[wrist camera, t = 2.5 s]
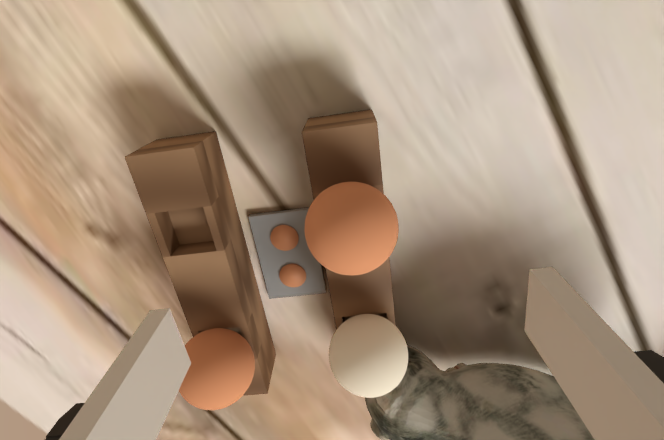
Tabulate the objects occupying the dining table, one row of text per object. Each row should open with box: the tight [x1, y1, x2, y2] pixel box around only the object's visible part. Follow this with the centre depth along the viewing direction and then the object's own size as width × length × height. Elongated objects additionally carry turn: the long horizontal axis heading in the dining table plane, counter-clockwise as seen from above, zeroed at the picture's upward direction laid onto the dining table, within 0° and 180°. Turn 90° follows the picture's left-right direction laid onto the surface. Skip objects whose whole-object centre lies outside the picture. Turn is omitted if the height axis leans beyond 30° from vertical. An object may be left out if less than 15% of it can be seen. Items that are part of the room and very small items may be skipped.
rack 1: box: [125, 131, 276, 395], centre depth 27 cm, size 19×4×4 cm, turn 8°
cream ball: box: [329, 314, 408, 398], centre depth 24 cm, size 5×5×5 cm
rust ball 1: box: [179, 328, 255, 410], centre depth 25 cm, size 5×5×5 cm
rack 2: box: [302, 110, 396, 330], centre depth 26 cm, size 19×4×4 cm, turn 8°
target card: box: [248, 208, 326, 299], centre depth 28 cm, size 7×4×1 cm, turn 8°
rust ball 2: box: [304, 182, 398, 275], centre depth 20 cm, size 5×5×5 cm
